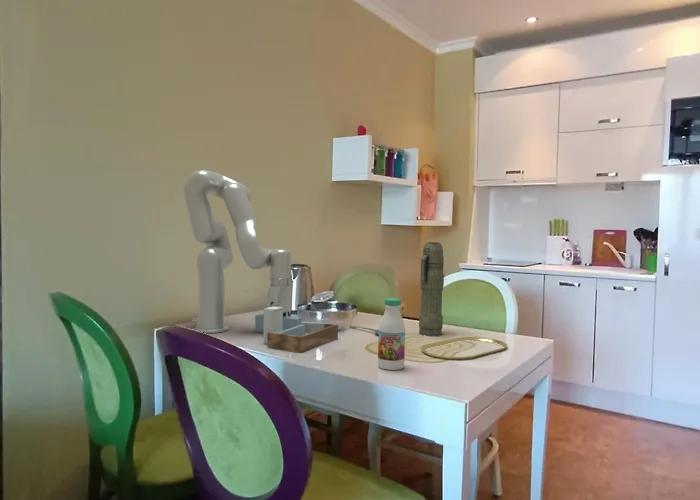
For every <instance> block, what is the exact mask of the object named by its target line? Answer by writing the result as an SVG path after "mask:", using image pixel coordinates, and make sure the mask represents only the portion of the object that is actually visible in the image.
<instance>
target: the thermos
mask: <svg viewBox="0 0 700 500" xmlns="http://www.w3.org/2000/svg"><path fill="white" fill-rule="evenodd" d="M444 260H445V259H444V249H443V245H442V243H440V242H435V241H434V242H432V241H430V242H426V243H424V245H423V249H422V256H421V259H420V283H419V286H420V287H419V288H420V295H421V296H420V313H419V316H418V327H419V331H418V333H419V335H421V336H424V335H426V337H440V336H442V335H443V331H442V330H443V321H444V320H443V319H444V317H443V314H442V310H443V309H442V305H443V291H444V287H445V285H444V283H445V281H444V280H445V274H444ZM441 334H442V335H441ZM439 335H440V336H439Z"/></svg>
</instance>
